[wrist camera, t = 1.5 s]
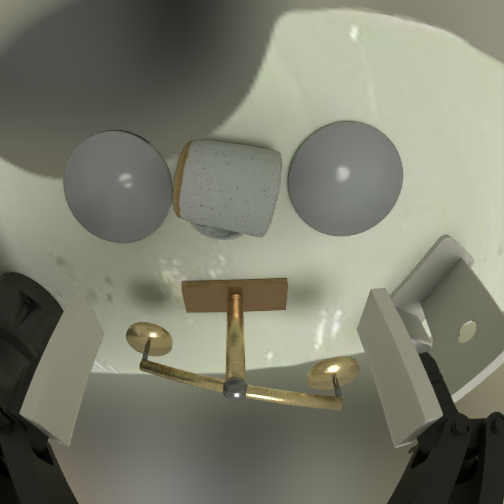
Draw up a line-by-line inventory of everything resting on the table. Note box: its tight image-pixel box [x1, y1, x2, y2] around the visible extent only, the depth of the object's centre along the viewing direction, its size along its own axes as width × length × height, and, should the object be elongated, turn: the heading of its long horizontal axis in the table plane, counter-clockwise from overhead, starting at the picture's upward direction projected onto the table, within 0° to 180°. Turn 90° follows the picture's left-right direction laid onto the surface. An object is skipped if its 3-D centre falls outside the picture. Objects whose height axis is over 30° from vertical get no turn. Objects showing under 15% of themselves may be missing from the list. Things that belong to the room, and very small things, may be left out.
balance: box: [126, 278, 360, 410], centre depth 28 cm, size 23×5×16 cm, turn 90°
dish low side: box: [63, 130, 173, 243], centre depth 26 cm, size 12×12×1 cm
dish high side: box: [288, 121, 403, 236], centre depth 27 cm, size 12×12×1 cm
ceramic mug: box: [172, 140, 282, 240], centre depth 24 cm, size 10×8×7 cm
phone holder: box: [390, 235, 504, 403], centre depth 29 cm, size 17×10×18 cm, turn 152°
